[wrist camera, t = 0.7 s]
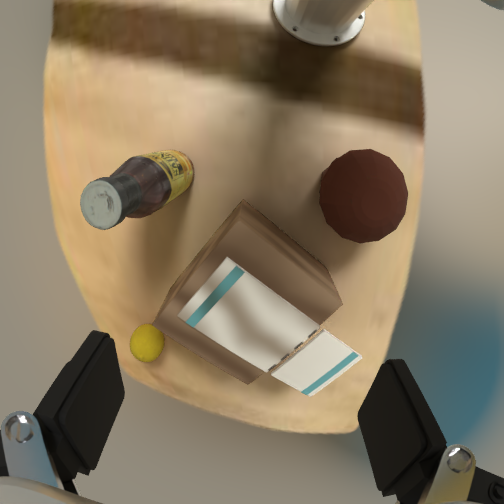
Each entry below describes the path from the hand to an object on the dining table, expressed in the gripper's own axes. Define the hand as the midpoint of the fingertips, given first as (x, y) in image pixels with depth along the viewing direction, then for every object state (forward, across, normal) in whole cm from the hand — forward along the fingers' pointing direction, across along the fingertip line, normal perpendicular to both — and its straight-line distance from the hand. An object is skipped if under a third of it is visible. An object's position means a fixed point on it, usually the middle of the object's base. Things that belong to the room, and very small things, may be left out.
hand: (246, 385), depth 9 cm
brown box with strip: (+34, 0, +12) cm, 36 cm away
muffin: (+33, -13, -3) cm, 36 cm away
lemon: (+34, +14, +24) cm, 44 cm away
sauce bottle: (+33, +11, -2) cm, 35 cm away
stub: (+24, -11, +20) cm, 33 cm away
